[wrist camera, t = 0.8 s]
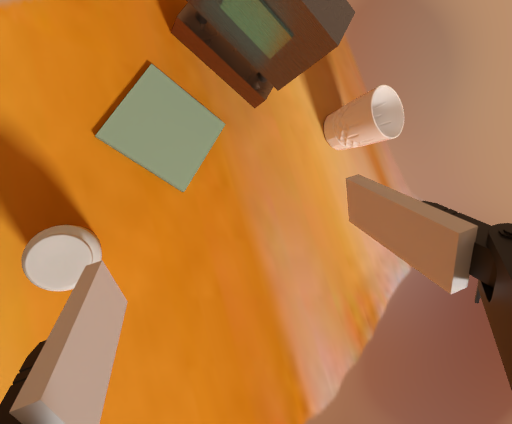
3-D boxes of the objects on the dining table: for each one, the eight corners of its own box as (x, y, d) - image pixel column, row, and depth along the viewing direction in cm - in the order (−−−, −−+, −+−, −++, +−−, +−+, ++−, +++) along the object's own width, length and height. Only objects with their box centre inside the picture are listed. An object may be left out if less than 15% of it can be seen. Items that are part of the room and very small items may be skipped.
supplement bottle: (68, 288, 27) (54, 316, 19) (23, 251, 26) (-13, 264, 17) (113, 250, 29) (118, 261, 21) (74, 214, 28) (63, 209, 20)
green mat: (95, 136, 29) (95, 135, 28) (150, 66, 32) (151, 63, 32) (182, 192, 34) (184, 191, 33) (223, 125, 37) (225, 124, 36)
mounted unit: (169, 34, 33) (218, -100, 20) (190, 7, 35) (249, -134, 21) (253, 109, 39) (337, 47, 25) (268, 83, 41) (355, 12, 27)
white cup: (351, 157, 50) (404, 143, 41) (320, 149, 46) (371, 132, 37) (352, 115, 50) (404, 93, 41) (320, 104, 46) (371, 77, 37)
